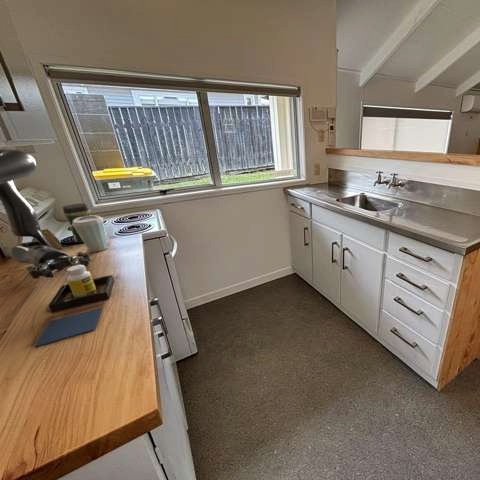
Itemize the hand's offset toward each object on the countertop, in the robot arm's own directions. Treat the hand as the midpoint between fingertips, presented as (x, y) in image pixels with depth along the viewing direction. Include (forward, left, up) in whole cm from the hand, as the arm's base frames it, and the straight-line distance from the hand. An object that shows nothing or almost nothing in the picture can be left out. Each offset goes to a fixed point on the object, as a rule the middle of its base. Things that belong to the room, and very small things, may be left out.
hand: (69, 268), depth 81 cm
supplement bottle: (+3, -5, -8) cm, 10 cm away
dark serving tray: (+3, -5, -8) cm, 10 cm away
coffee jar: (-8, +62, -8) cm, 63 cm away
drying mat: (+3, -22, -8) cm, 24 cm away
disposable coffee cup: (-1, +43, -8) cm, 44 cm away
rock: (-22, +56, -8) cm, 61 cm away
